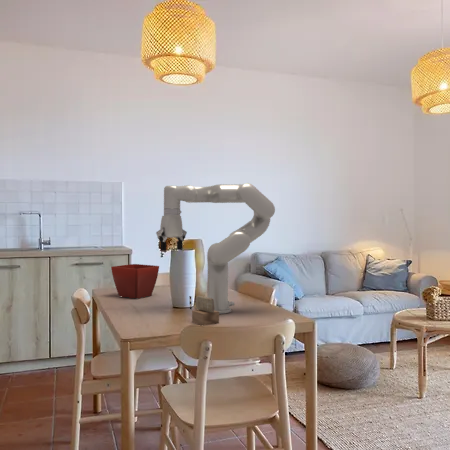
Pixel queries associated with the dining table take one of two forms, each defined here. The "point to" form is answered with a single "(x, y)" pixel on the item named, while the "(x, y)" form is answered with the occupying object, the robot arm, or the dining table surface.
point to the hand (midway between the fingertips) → (171, 250)
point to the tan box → (205, 317)
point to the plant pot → (135, 279)
